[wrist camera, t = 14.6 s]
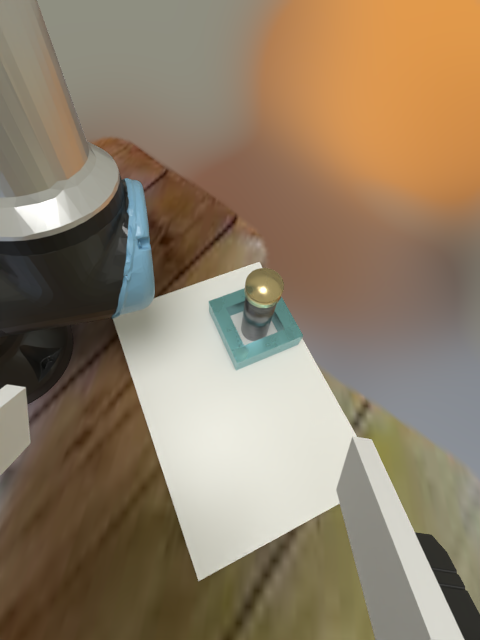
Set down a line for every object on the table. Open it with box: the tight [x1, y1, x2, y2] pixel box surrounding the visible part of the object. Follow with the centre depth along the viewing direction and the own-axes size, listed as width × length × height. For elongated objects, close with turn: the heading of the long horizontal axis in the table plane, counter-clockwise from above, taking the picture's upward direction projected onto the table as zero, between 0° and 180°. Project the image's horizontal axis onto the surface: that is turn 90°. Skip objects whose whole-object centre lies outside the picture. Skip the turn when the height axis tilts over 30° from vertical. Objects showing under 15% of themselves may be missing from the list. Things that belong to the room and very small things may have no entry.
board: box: [113, 262, 357, 581], centre depth 43 cm, size 32×22×1 cm
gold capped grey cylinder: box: [241, 268, 284, 341], centre depth 41 cm, size 4×4×12 cm
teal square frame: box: [209, 288, 303, 370], centre depth 45 cm, size 9×9×3 cm
